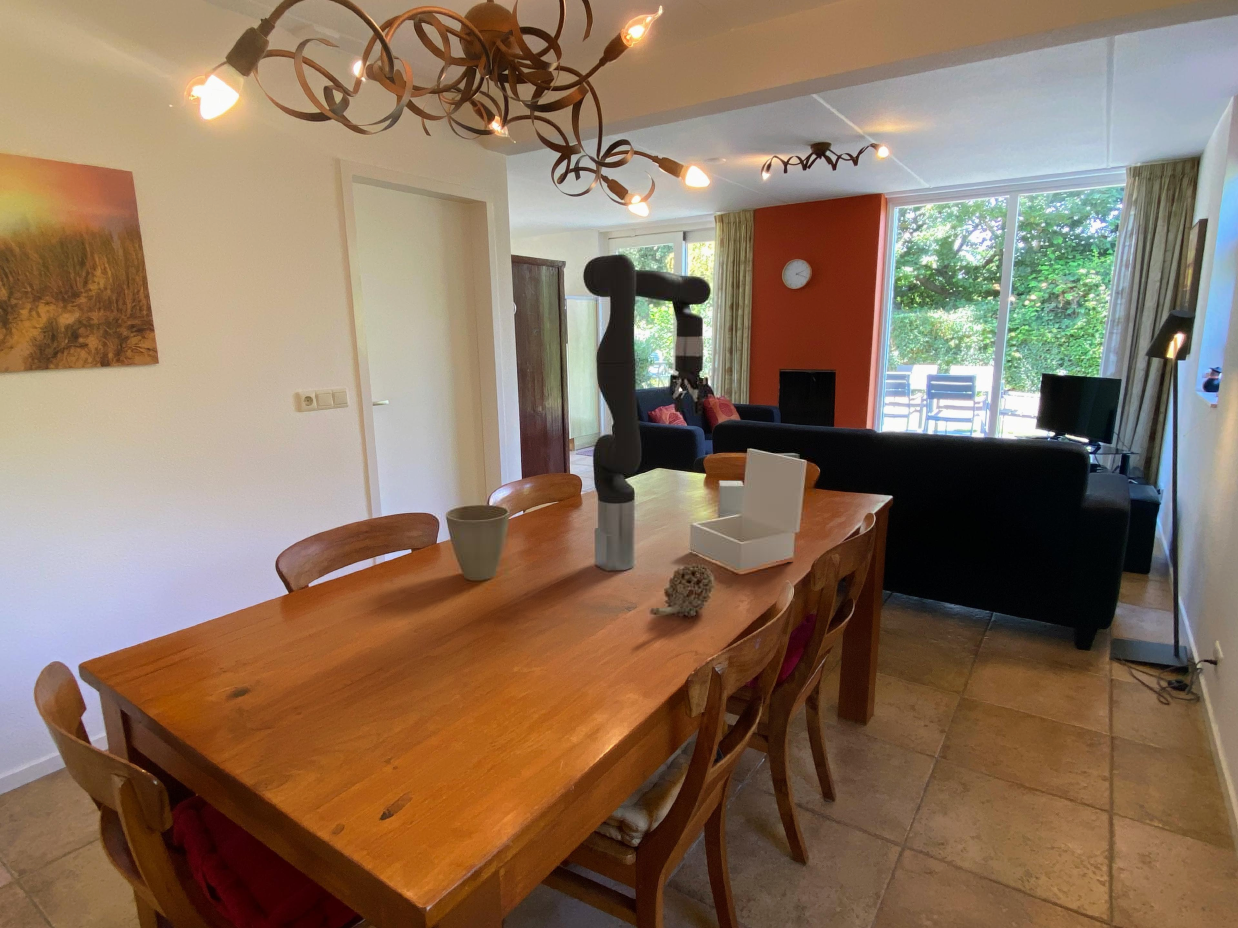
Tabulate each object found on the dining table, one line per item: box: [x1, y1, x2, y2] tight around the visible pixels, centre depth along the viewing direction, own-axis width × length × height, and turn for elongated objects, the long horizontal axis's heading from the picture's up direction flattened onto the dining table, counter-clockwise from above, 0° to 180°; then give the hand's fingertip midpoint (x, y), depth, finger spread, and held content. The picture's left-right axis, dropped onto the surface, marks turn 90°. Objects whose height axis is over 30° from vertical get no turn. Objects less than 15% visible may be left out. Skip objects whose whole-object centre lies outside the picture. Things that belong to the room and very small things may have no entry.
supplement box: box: [717, 480, 744, 519], centre depth 202 cm, size 7×7×13 cm
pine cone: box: [648, 563, 715, 618], centre depth 134 cm, size 22×10×10 cm, turn 150°
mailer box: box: [689, 514, 796, 571], centre depth 171 cm, size 18×20×8 cm
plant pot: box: [445, 504, 510, 582], centre depth 158 cm, size 15×15×16 cm
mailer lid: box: [741, 448, 808, 533], centre depth 176 cm, size 18×20×8 cm
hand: (687, 413), depth 180 cm, fingers open, 8 cm apart
